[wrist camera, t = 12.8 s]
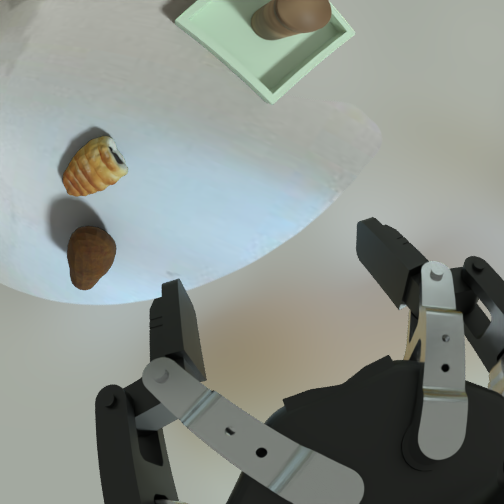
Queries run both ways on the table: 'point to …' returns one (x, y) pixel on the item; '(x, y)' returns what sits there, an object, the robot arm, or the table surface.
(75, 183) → the pastry
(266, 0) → the bin
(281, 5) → the pepper mill
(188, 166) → the table surface
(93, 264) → the potato
